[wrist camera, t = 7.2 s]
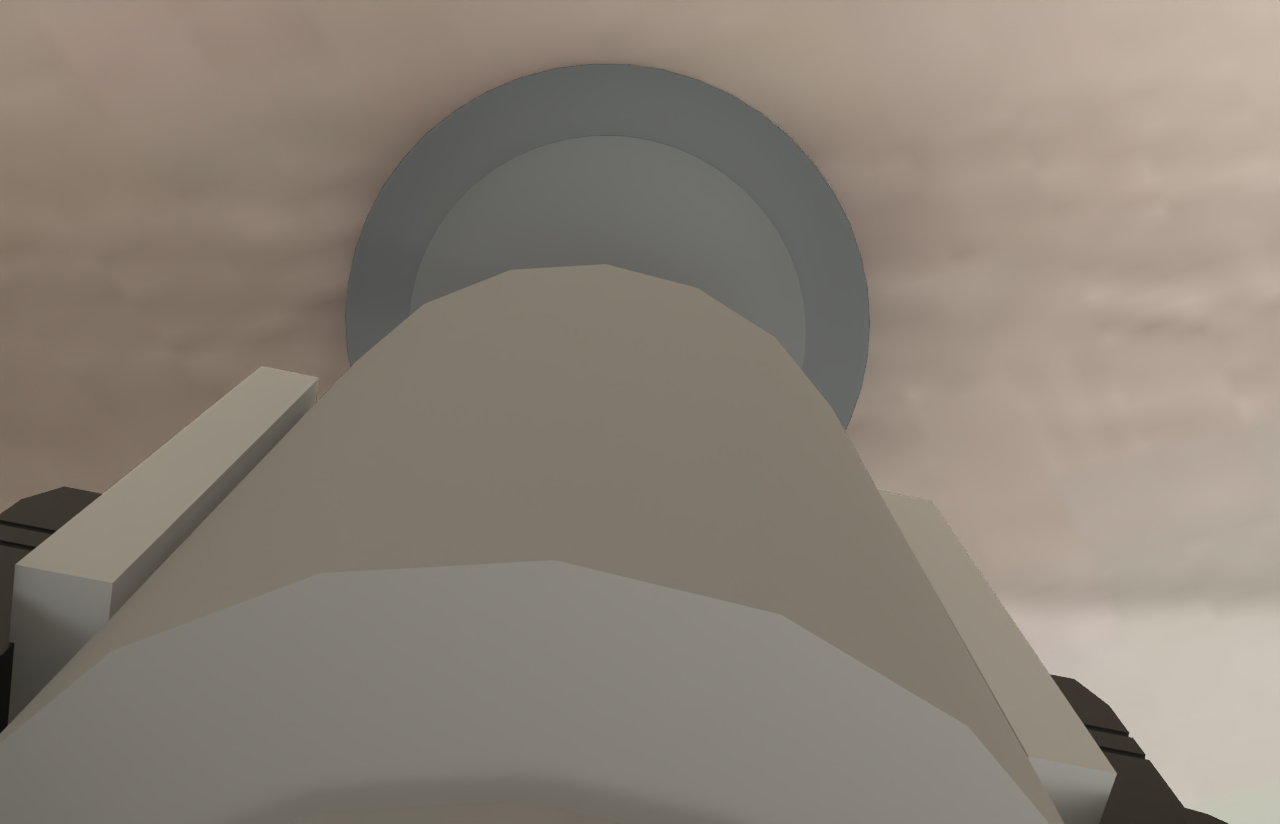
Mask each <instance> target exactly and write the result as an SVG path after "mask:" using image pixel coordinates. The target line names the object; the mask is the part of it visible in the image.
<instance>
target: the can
mask: <svg viewBox="0 0 1280 824" xmlns="http://www.w3.org/2000/svg"><path fill="white" fill-rule="evenodd" d="M0 824H1064V822H1063V820H1062V818H1061V817H1060V815H1059V813H1058V811H1057V809H1056V808H1055V806H1054V804H1053V802H1052V801H1051V799H1050V797H1049V795H1048V793H1047V792H1046V790H1045V788H1044V786H1043V784H1042V783H1041V781H1040V779H1039V777H1038V775H1037V774H1036V772H1035V770H1034V768H1033V767H1032V765H1031V763H1030V761H1029V759H1028V758H1027V756H1026V754H1025V752H1024V750H1023V749H1022V747H1021V745H1020V743H1019V741H1018V740H1017V738H1016V736H1015V734H1014V733H1013V731H1012V729H1011V727H1010V725H1009V724H1008V722H1007V720H1006V718H1005V716H1004V715H1003V713H1002V711H1001V709H1000V707H999V706H998V704H997V702H996V700H995V699H994V697H993V695H992V693H991V691H990V690H989V688H988V686H987V684H986V682H985V681H984V679H983V677H982V675H981V673H980V672H979V670H978V668H977V666H976V665H975V663H974V661H973V659H972V657H971V656H970V654H969V652H968V650H967V648H966V647H965V645H964V643H963V641H962V639H961V638H960V636H959V634H958V632H957V631H956V629H955V627H954V625H953V623H952V622H951V620H950V618H949V616H948V614H947V613H946V611H945V609H944V607H943V605H942V604H941V602H940V600H939V598H938V597H937V595H936V593H935V591H934V589H933V588H932V586H931V584H930V582H929V580H928V579H927V577H926V575H925V573H924V571H923V570H922V568H921V566H920V564H919V563H918V561H917V559H916V557H915V555H914V554H913V552H912V550H911V548H910V546H909V545H908V543H907V541H906V539H905V537H904V536H903V534H902V532H901V530H900V529H899V527H898V525H897V523H896V521H895V520H894V518H893V516H892V514H891V512H890V511H889V509H888V507H887V505H886V503H885V502H884V500H883V498H882V496H881V495H880V493H879V491H878V489H877V487H876V486H875V484H874V482H873V480H872V478H871V477H870V475H869V473H868V471H867V469H866V468H865V466H864V464H863V462H862V461H861V459H860V457H859V455H858V453H857V452H856V450H855V448H854V446H853V444H852V443H851V441H850V439H849V437H848V435H847V434H846V432H845V430H844V428H843V427H842V425H841V423H840V421H839V419H838V418H837V416H836V414H835V412H834V410H833V409H832V407H831V406H830V404H829V403H828V402H827V401H826V400H825V398H824V397H823V396H822V395H821V393H820V392H819V391H818V390H817V388H816V387H815V386H814V385H813V383H812V382H811V381H810V380H809V379H808V377H807V376H806V375H805V374H804V372H803V371H802V370H801V369H800V367H799V366H798V365H797V364H796V362H795V361H794V360H793V359H792V358H791V356H790V355H789V354H788V353H787V351H786V350H785V349H784V348H783V346H782V345H781V344H780V343H779V341H778V340H777V339H776V338H775V337H774V336H772V335H770V334H769V333H767V332H766V331H764V330H763V329H761V328H760V327H758V326H756V325H755V324H753V323H752V322H750V321H749V320H747V319H745V318H744V317H742V316H741V315H739V314H738V313H736V312H734V311H733V310H731V309H730V308H728V307H727V306H725V305H723V304H722V303H720V302H719V301H717V300H716V299H714V298H712V297H711V296H709V295H708V294H706V293H705V292H703V291H701V290H700V289H698V288H696V287H692V286H688V285H684V284H681V283H677V282H673V281H669V280H665V279H661V278H657V277H653V276H650V275H646V274H642V273H638V272H634V271H630V270H626V269H623V268H619V267H615V266H611V265H607V264H599V265H583V266H566V267H549V268H532V269H515V270H509V271H507V272H504V273H501V274H499V275H496V276H494V277H491V278H489V279H486V280H484V281H481V282H479V283H476V284H474V285H471V286H468V287H466V288H463V289H461V290H458V291H456V292H453V293H451V294H448V295H446V296H443V297H441V298H438V299H435V300H433V301H430V302H428V303H425V304H424V305H422V306H421V307H420V308H419V309H418V310H416V311H415V312H414V313H413V314H412V315H411V316H409V317H408V318H407V319H406V320H405V321H403V322H402V323H401V324H400V325H399V326H397V327H396V328H395V329H394V330H393V331H392V332H390V333H389V334H388V335H387V336H386V337H384V338H383V339H382V340H381V341H380V342H378V343H377V344H376V345H375V346H374V347H373V348H371V349H370V350H369V351H368V352H367V353H365V354H364V355H363V356H362V357H361V358H360V359H358V360H357V361H356V362H355V363H354V364H353V365H352V366H351V367H350V368H349V369H348V370H347V371H346V372H345V373H344V374H343V375H342V376H341V378H340V379H339V380H338V381H337V382H336V383H335V384H334V385H333V386H332V387H331V388H330V389H329V390H328V391H327V392H326V393H325V394H324V395H323V396H322V397H321V398H320V400H319V401H318V402H317V403H316V404H315V405H314V406H313V407H312V408H311V409H310V410H309V411H308V412H307V413H306V414H305V415H304V416H303V417H302V418H301V419H300V420H299V421H298V423H297V424H296V425H295V426H294V427H293V428H292V429H291V430H290V431H289V432H288V433H287V434H286V435H285V436H284V437H283V438H282V439H281V440H280V441H279V442H278V443H277V445H276V446H275V447H274V448H273V449H272V450H271V451H270V452H269V453H268V454H267V455H266V456H265V457H264V458H263V459H262V460H261V461H260V462H259V463H258V464H257V465H256V466H255V468H254V469H253V470H252V471H251V472H250V473H249V474H248V475H247V476H246V477H245V478H244V479H243V480H242V481H241V482H240V483H239V484H238V485H237V486H236V487H235V488H234V490H233V491H232V492H231V493H230V494H229V495H228V496H227V497H226V498H225V499H224V500H223V501H222V502H221V503H220V504H219V505H218V506H217V507H216V508H215V509H214V510H213V511H212V513H211V514H210V515H209V516H208V517H207V518H206V519H205V520H204V521H203V522H202V523H201V524H200V525H199V526H198V527H197V528H196V529H195V530H194V531H193V532H192V533H191V535H190V536H189V537H188V538H187V539H186V540H185V541H184V542H183V543H182V544H181V545H180V546H179V547H178V548H177V549H176V550H175V551H174V552H173V553H172V554H171V555H170V556H169V558H168V559H167V560H166V561H165V562H164V563H163V564H162V565H161V566H160V567H159V568H158V569H157V570H156V571H155V572H154V573H153V574H152V575H151V576H150V577H149V578H148V580H147V581H146V582H145V583H144V584H143V585H142V586H141V587H140V588H139V589H138V590H137V591H136V592H135V593H134V594H133V595H132V596H131V597H130V598H129V599H128V600H127V601H126V603H125V604H124V605H123V606H122V607H121V608H120V609H119V610H118V611H117V612H116V613H115V614H114V615H113V616H112V617H111V618H110V619H109V620H108V621H107V622H106V623H105V625H104V626H103V627H102V628H101V629H100V630H99V631H98V632H97V633H96V634H95V635H94V636H93V637H92V638H91V639H90V640H89V641H88V642H87V643H86V644H85V645H84V646H83V648H82V649H81V650H80V651H79V652H78V653H77V654H76V655H75V656H74V657H73V658H72V659H71V660H70V661H69V662H68V663H67V664H66V665H65V666H64V667H63V668H62V670H61V671H60V672H59V673H58V674H57V675H56V676H55V677H54V678H53V679H52V680H51V681H50V682H49V683H48V684H47V685H46V686H45V687H44V688H43V689H42V690H41V691H40V693H39V694H38V695H37V696H36V697H35V698H34V699H33V700H32V701H31V702H30V703H29V704H28V705H27V706H26V707H25V708H24V709H23V710H22V711H21V712H20V713H19V715H18V716H17V717H16V718H15V719H14V720H13V721H12V722H11V723H10V724H9V725H8V726H7V727H6V728H5V729H4V730H3V731H2V732H1V733H0Z"/></svg>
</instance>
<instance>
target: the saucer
mask: <svg viewBox="0 0 1280 824" xmlns="http://www.w3.org/2000/svg"><path fill="white" fill-rule="evenodd" d="M599 264H607V265H611V266H615V267H619V268H623V269H626V270H630V271H634V272H638V273H642V274H646V275H650V276H653V277H657V278H661V279H665V280H669V281H673V282H677V283H681V284H684V285H688V286H692V287H696V288H698V289H700V290H701V291H703V292H705V293H706V294H708V295H709V296H711V297H712V298H714V299H716V300H717V301H719V302H720V303H722V304H723V305H725V306H727V307H728V308H730V309H731V310H733V311H734V312H736V313H738V314H739V315H741V316H742V317H744V318H745V319H747V320H749V321H750V322H752V323H753V324H755V325H756V326H758V327H760V328H761V329H763V330H764V331H766V332H767V333H769V334H770V335H772V336H774V337H775V338H776V339H777V340H778V341H779V343H780V344H781V345H782V346H783V348H784V349H785V350H786V351H787V353H788V354H789V355H790V356H791V358H792V359H793V360H794V361H795V362H796V364H797V365H798V366H799V367H800V369H801V370H802V371H803V372H804V374H805V375H806V376H807V377H808V379H809V380H810V381H811V382H812V383H813V385H814V386H815V387H816V388H817V390H818V391H819V392H820V393H821V395H822V396H823V397H824V398H825V400H826V401H827V402H828V403H829V404H830V406H831V407H832V409H833V410H834V412H835V414H836V416H837V418H838V419H839V421H840V423H841V425H842V427H843V428H844V430H846V428H847V426H848V424H849V422H850V420H851V417H852V414H853V411H854V408H855V405H856V402H857V399H858V396H859V393H860V390H861V387H862V382H863V377H864V372H865V367H866V362H867V357H868V343H869V328H870V317H869V303H868V288H867V284H866V279H865V274H864V269H863V264H862V259H861V255H860V252H859V249H858V246H857V243H856V240H855V238H854V235H853V232H852V229H851V226H850V223H849V221H848V219H847V217H846V215H845V213H844V211H843V209H842V207H841V206H840V204H839V202H838V200H837V198H836V196H835V194H834V192H833V190H832V189H831V187H830V186H829V185H828V183H827V182H826V180H825V179H824V177H823V176H822V175H821V173H820V172H819V170H818V169H817V167H816V166H815V165H814V163H813V162H812V161H811V160H810V159H809V158H808V157H807V155H806V154H805V153H804V152H803V151H802V150H801V149H800V148H799V147H798V146H797V145H796V143H795V142H794V141H793V140H792V139H791V138H790V137H789V136H788V135H787V134H785V133H784V132H783V131H782V130H781V129H779V128H778V127H777V126H776V125H775V124H773V123H772V122H771V121H770V120H768V119H767V118H766V117H765V116H764V115H762V114H761V113H759V112H758V111H756V110H755V109H753V108H751V107H750V106H748V105H747V104H745V103H743V102H742V101H740V100H739V99H737V98H735V97H734V96H732V95H730V94H728V93H726V92H723V91H721V90H719V89H717V88H714V87H712V86H710V85H708V84H706V83H703V82H701V81H699V80H696V79H692V78H689V77H685V76H682V75H679V74H675V73H672V72H668V71H665V70H660V69H653V68H647V67H640V66H633V65H614V64H589V65H581V66H573V67H564V68H556V69H552V70H548V71H544V72H541V73H537V74H533V75H529V76H526V77H522V78H519V79H516V80H514V81H512V82H509V83H507V84H505V85H502V86H500V87H497V88H495V89H493V90H490V91H488V92H486V93H484V94H482V95H481V96H479V97H477V98H476V99H474V100H472V101H471V102H469V103H467V104H466V105H464V106H462V107H460V108H459V109H457V110H456V111H454V112H453V113H452V114H451V115H449V116H448V117H447V118H446V119H444V120H443V121H442V122H440V123H439V124H438V125H437V126H435V127H434V128H433V129H432V130H430V131H429V132H428V133H427V134H426V135H425V136H424V137H423V138H422V139H421V140H420V141H419V142H418V143H417V145H416V146H415V147H414V148H413V149H412V150H411V151H410V152H409V153H408V154H407V155H406V156H405V157H404V158H403V160H402V161H401V162H400V164H399V165H398V167H397V168H396V169H395V171H394V172H393V174H392V175H391V176H390V178H389V179H388V180H387V182H386V183H385V185H384V186H383V188H382V190H381V192H380V194H379V195H378V197H377V199H376V201H375V203H374V205H373V207H372V209H371V210H370V212H369V214H368V216H367V219H366V221H365V224H364V227H363V230H362V232H361V235H360V238H359V240H358V243H357V246H356V249H355V253H354V258H353V262H352V267H351V271H350V276H349V280H348V290H347V302H346V315H345V317H346V336H347V351H348V356H349V362H350V367H351V366H352V365H353V364H354V363H355V362H356V361H357V360H358V359H360V358H361V357H362V356H363V355H364V354H365V353H367V352H368V351H369V350H370V349H371V348H373V347H374V346H375V345H376V344H377V343H378V342H380V341H381V340H382V339H383V338H384V337H386V336H387V335H388V334H389V333H390V332H392V331H393V330H394V329H395V328H396V327H397V326H399V325H400V324H401V323H402V322H403V321H405V320H406V319H407V318H408V317H409V316H411V315H412V314H413V313H414V312H415V311H416V310H418V309H419V308H420V307H421V306H422V305H424V304H425V303H428V302H430V301H433V300H435V299H438V298H441V297H443V296H446V295H448V294H451V293H453V292H456V291H458V290H461V289H463V288H466V287H468V286H471V285H474V284H476V283H479V282H481V281H484V280H486V279H489V278H491V277H494V276H496V275H499V274H501V273H504V272H507V271H509V270H515V269H532V268H549V267H566V266H583V265H599Z"/></svg>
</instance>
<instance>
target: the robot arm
mask: <svg viewBox="0 0 1280 824" xmlns="http://www.w3.org/2000/svg"><path fill="white" fill-rule="evenodd" d="M319 378H320V377H315V376H310V375H305V374H300V373H295V372H290V371H285V370H280V369H275V368H270V367H265V366H260V367H259V368H258V369H257V370H256V371H254V372H253V373H252V374H251V375H249V376H248V377H247V378H246V379H244V380H243V381H242V382H241V383H239V384H238V385H237V386H236V387H234V388H233V389H232V390H231V391H229V392H228V393H227V394H226V395H225V396H223V397H222V398H221V399H220V400H218V401H217V402H216V403H215V404H213V405H212V406H211V407H210V408H208V409H207V410H206V411H205V412H203V413H202V414H201V415H200V416H199V417H197V418H196V419H195V420H194V421H192V422H191V423H190V424H189V425H187V426H186V427H185V428H184V429H182V430H181V431H180V432H179V433H177V434H176V435H175V436H174V437H172V438H171V439H170V440H169V441H168V442H166V443H165V444H164V445H163V446H161V447H160V448H159V449H158V450H156V451H155V452H154V453H153V454H151V455H150V456H149V457H148V458H146V459H145V460H144V461H143V462H142V463H140V464H139V465H138V466H137V467H135V468H134V469H133V470H132V471H130V472H129V473H128V474H127V475H125V476H124V477H123V478H122V479H120V480H119V481H118V482H117V483H115V484H114V485H113V486H112V487H111V488H109V489H108V490H107V491H106V492H104V493H103V494H99V493H94V492H89V491H84V490H79V489H74V488H69V487H61V488H58V489H55V490H51V491H48V492H45V493H41V494H38V495H34V496H31V497H28V498H24V499H21V500H20V501H18V502H17V503H15V504H14V505H13V506H11V507H10V508H8V509H7V510H6V511H4V512H3V513H1V514H0V733H1V732H2V731H3V730H4V729H5V728H6V727H7V726H8V725H9V724H10V723H11V722H12V721H13V720H14V719H15V718H16V717H17V716H18V715H19V713H20V712H21V711H22V710H23V709H24V708H25V707H26V706H27V705H28V704H29V703H30V702H31V701H32V700H33V699H34V698H35V697H36V696H37V695H38V694H39V693H40V691H41V690H42V689H43V688H44V687H45V686H46V685H47V684H48V683H49V682H50V681H51V680H52V679H53V678H54V677H55V676H56V675H57V674H58V673H59V672H60V671H61V670H62V668H63V667H64V666H65V665H66V664H67V663H68V662H69V661H70V660H71V659H72V658H73V657H74V656H75V655H76V654H77V653H78V652H79V651H80V650H81V649H82V648H83V646H84V645H85V644H86V643H87V642H88V641H89V640H90V639H91V638H92V637H93V636H94V635H95V634H96V633H97V632H98V631H99V630H100V629H101V628H102V627H103V626H104V625H105V623H106V622H107V621H108V620H109V619H110V618H111V617H112V616H113V615H114V614H115V613H116V612H117V611H118V610H119V609H120V608H121V607H122V606H123V605H124V604H125V603H126V601H127V600H128V599H129V598H130V597H131V596H132V595H133V594H134V593H135V592H136V591H137V590H138V589H139V588H140V587H141V586H142V585H143V584H144V583H145V582H146V581H147V580H148V578H149V577H150V576H151V575H152V574H153V573H154V572H155V571H156V570H157V569H158V568H159V567H160V566H161V565H162V564H163V563H164V562H165V561H166V560H167V559H168V558H169V556H170V555H171V554H172V553H173V552H174V551H175V550H176V549H177V548H178V547H179V546H180V545H181V544H182V543H183V542H184V541H185V540H186V539H187V538H188V537H189V536H190V535H191V533H192V532H193V531H194V530H195V529H196V528H197V527H198V526H199V525H200V524H201V523H202V522H203V521H204V520H205V519H206V518H207V517H208V516H209V515H210V514H211V513H212V511H213V510H214V509H215V508H216V507H217V506H218V505H219V504H220V503H221V502H222V501H223V500H224V499H225V498H226V497H227V496H228V495H229V494H230V493H231V492H232V491H233V490H234V488H235V487H236V486H237V485H238V484H239V483H240V482H241V481H242V480H243V479H244V478H245V477H246V476H247V475H248V474H249V473H250V472H251V471H252V470H253V469H254V468H255V466H256V465H257V464H258V463H259V462H260V461H261V460H262V459H263V458H264V457H265V456H266V455H267V454H268V453H269V452H270V451H271V450H272V449H273V448H274V447H275V446H276V445H277V443H278V442H279V441H280V440H281V439H282V438H283V437H284V436H285V435H286V434H287V433H288V432H289V431H290V430H291V429H292V428H293V427H294V426H295V425H296V424H297V423H298V421H299V420H300V419H301V418H302V417H303V416H304V415H305V414H306V413H307V412H308V411H309V410H310V409H311V408H312V407H313V406H314V405H315V404H316V399H317V392H318V385H319ZM878 491H879V493H880V495H881V496H882V498H883V500H884V502H885V503H886V505H887V507H888V509H889V511H890V512H891V514H892V516H893V518H894V520H895V521H896V523H897V525H898V527H899V529H900V530H901V532H902V534H903V536H904V537H905V539H906V541H907V543H908V545H909V546H910V548H911V550H912V552H913V554H914V555H915V557H916V559H917V561H918V563H919V564H920V566H921V568H922V570H923V571H924V573H925V575H926V577H927V579H928V580H929V582H930V584H931V586H932V588H933V589H934V591H935V593H936V595H937V597H938V598H939V600H940V602H941V604H942V605H943V607H944V609H945V611H946V613H947V614H948V616H949V618H950V620H951V622H952V623H953V625H954V627H955V629H956V631H957V632H958V634H959V636H960V638H961V639H962V641H963V643H964V645H965V647H966V648H967V650H968V652H969V654H970V656H971V657H972V659H973V661H974V663H975V665H976V666H977V668H978V670H979V672H980V673H981V675H982V677H983V679H984V681H985V682H986V684H987V686H988V688H989V690H990V691H991V693H992V695H993V697H994V699H995V700H996V702H997V704H998V706H999V707H1000V709H1001V711H1002V713H1003V715H1004V716H1005V718H1006V720H1007V722H1008V724H1009V725H1010V727H1011V729H1012V731H1013V733H1014V734H1015V736H1016V738H1017V740H1018V741H1019V743H1020V745H1021V747H1022V749H1023V750H1024V752H1025V754H1026V756H1027V758H1028V759H1029V761H1030V763H1031V765H1032V767H1033V768H1034V770H1035V772H1036V774H1037V775H1038V777H1039V779H1040V781H1041V783H1042V784H1043V786H1044V788H1045V790H1046V792H1047V793H1048V795H1049V797H1050V799H1051V801H1052V802H1053V804H1054V806H1055V808H1056V809H1057V811H1058V813H1059V815H1060V817H1061V818H1062V820H1063V822H1064V824H1228V823H1226V822H1224V821H1222V820H1219V819H1217V818H1215V817H1213V816H1211V815H1208V814H1205V813H1202V812H1198V811H1194V810H1191V809H1187V808H1184V806H1183V805H1182V804H1181V802H1180V801H1179V800H1178V798H1177V797H1176V796H1175V794H1174V793H1173V792H1172V790H1171V789H1170V787H1169V786H1168V785H1167V783H1166V782H1165V781H1164V779H1163V778H1162V777H1161V775H1160V774H1159V773H1158V771H1157V770H1156V768H1155V767H1154V766H1153V764H1152V763H1151V762H1150V760H1145V754H1144V752H1143V751H1142V749H1141V748H1140V747H1139V745H1138V744H1137V743H1136V741H1135V740H1134V739H1133V738H1131V737H1129V732H1128V731H1127V729H1126V728H1125V726H1124V725H1123V724H1122V722H1121V721H1120V720H1119V718H1118V717H1117V716H1116V714H1115V713H1114V712H1113V710H1112V709H1111V707H1110V706H1109V705H1108V704H1106V703H1105V702H1104V701H1102V700H1101V699H1100V698H1098V697H1097V696H1096V695H1094V694H1093V693H1092V692H1091V691H1089V690H1088V689H1087V688H1085V687H1084V686H1083V685H1081V684H1080V683H1079V682H1077V681H1076V680H1075V679H1071V678H1066V677H1061V676H1056V675H1050V674H1049V673H1048V671H1047V670H1046V668H1045V667H1044V665H1043V664H1042V662H1041V661H1040V659H1039V658H1038V656H1037V655H1036V653H1035V652H1034V650H1033V649H1032V647H1031V646H1030V644H1029V643H1028V642H1027V640H1026V639H1025V637H1024V636H1023V634H1022V633H1021V631H1020V630H1019V628H1018V627H1017V625H1016V624H1015V622H1014V621H1013V619H1012V618H1011V616H1010V615H1009V614H1008V612H1007V611H1006V609H1005V608H1004V606H1003V605H1002V603H1001V602H1000V600H999V599H998V597H997V596H996V594H995V593H994V591H993V590H992V588H991V587H990V586H989V584H988V583H987V581H986V580H985V578H984V577H983V575H982V574H981V572H980V571H979V569H978V568H977V566H976V565H975V563H974V562H973V560H972V559H971V558H970V556H969V555H968V553H967V552H966V550H965V549H964V547H963V546H962V544H961V543H960V541H959V540H958V538H957V537H956V535H955V534H954V532H953V531H952V530H951V528H950V527H949V525H948V524H947V522H946V521H945V519H944V518H943V516H942V515H941V513H940V512H939V510H938V509H937V507H936V506H935V504H934V503H933V501H929V500H924V499H919V498H914V497H909V496H904V495H899V494H895V493H890V492H885V491H880V490H878Z"/></svg>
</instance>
